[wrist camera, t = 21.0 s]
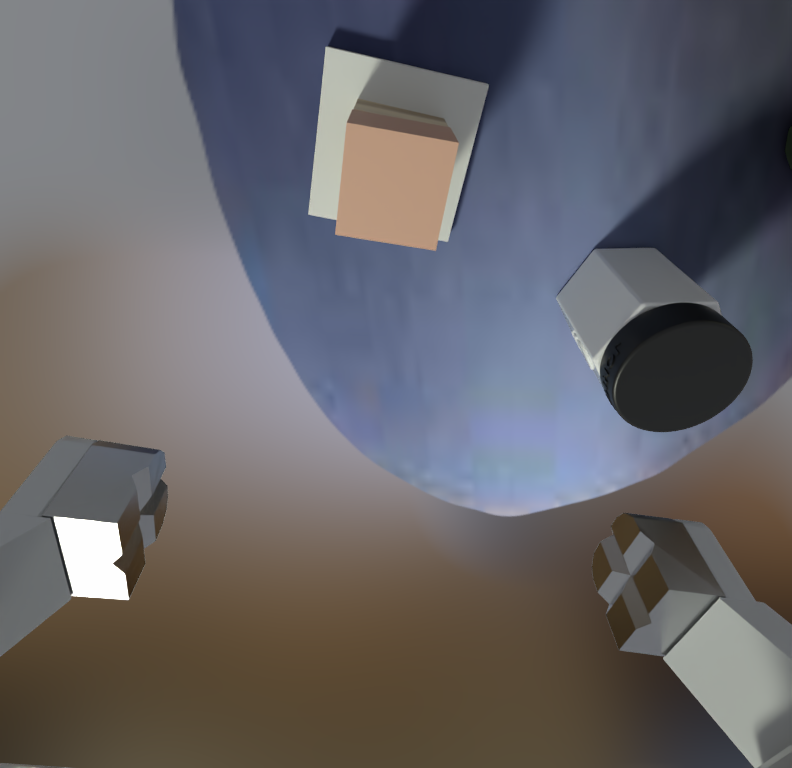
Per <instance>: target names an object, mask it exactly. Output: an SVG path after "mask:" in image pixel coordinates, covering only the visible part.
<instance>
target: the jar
mask: <svg viewBox="0 0 792 768" xmlns="http://www.w3.org/2000/svg"><path fill="white" fill-rule="evenodd" d="M556 299H557V302H558V304H559V306H560V308H561V310H562V312H563V315H564V317H565V319H566V321H567V323H568V325H569V328H570V330H571V332H572V335H573V337H574V339H575V341H576V343H577V345H578V347H579V348H580V350H581V352H582V354H583V356H584V358H585V360H586V362H587V364H588V365H589V367H590V369H592V370H593V371H594V373H595V375H596V377H597V378H598V380H599V382H600V384H601V385H602V387H603V389H604V391H605V393H606V396H607V398H608V400H609V401H610V403H611V405H612V406H613V407H614V409H615V410H616V411H617V412H618V414H619V415H620V416H621V417H622V418H623V419H624V420H625V421H626V422H628V423H629V424H631V425H632V426H635V427H637V428H640V429H643V430H647V431H653V432H672V431H678V430H683V429H687V428H690V427H693V426H696V425H698V424H701V423H703V422H705V421H707V420H709V419H711V418H712V417H714V416H716V415H717V414H719V413H720V412H721V411H723V410H724V409H725V408H726V407H728V406H729V405H730V404H731V403H732V402H733V401H734V400H735V399H736V398H737V396H738V395H739V394H740V393H741V391H742V390H743V388H744V386H745V385H746V383H747V381H748V379H749V376H750V373H751V369H752V361H753V360H752V351H751V348H750V345H749V343H748V341H747V339H746V338H745V337H744V335H743V334H742V333H741V332H740V331H738V330H737V329H736V328H735V327H734V326H733V325H732V324H731V323H729V322H728V321H727V320H726V319H725V318H724V317H723V316H722V314H721V310H720V306H719V303H718V302H717V301H716V300H715V299H714V298H713V297H711V296H710V295H709V294H708V293H707V292H706V291H705V290H703V289H702V288H701V287H700V286H699V285H698V284H696V283H695V282H694V281H693V280H692V279H691V278H689V277H688V276H687V275H686V274H685V273H684V272H682V271H681V270H680V269H679V268H678V267H677V266H675V265H674V264H673V263H672V262H671V261H670V260H668V259H667V258H666V257H665V256H664V255H663V254H662V253H660V252H659V251H658V250H657V249H656V248H612V249H594V250H593V251H592V253H591V254H590V255H589V256H588V258H587V259H586V260H585V261H584V263H583V264H582V265H581V266H580V268H579V269H578V270H577V271H576V273H575V274H574V275H573V276H572V278H571V279H570V280H569V282H568V283H567V284H566V285H565V287H564V288H563V289H562V290H561V292H560V293H559V294H558V295H557V297H556Z"/></svg>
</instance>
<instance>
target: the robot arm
mask: <svg viewBox="0 0 792 768" xmlns="http://www.w3.org/2000/svg"><path fill="white" fill-rule="evenodd" d="M165 468H166V462H165V453H164V452H162V451H161V450H157V449H151V448H144V447H138V446H132V445H125V444H120V443H113V442H107V441H101V440H99V441H97V440H91V439H84V438H77V437H72V436H65V437H63V438H61V439H60V440H58V441H57V442H56V443H55V444H54V445H53V446H52V448H51V449H50V450H49V451H48V453H47V454H46V455H45V456H44V458H43V459H42V460H41V461H40V463H39V464H38V465H37V466H36V468H35V469H34V470H33V471H32V473H31V474H30V475H29V476H28V477H27V479H26V480H25V481H24V483H23V484H22V485H21V486H20V487H19V489H18V490H17V491H16V492H15V494H14V495H13V496H12V497H11V499H10V500H9V501H8V502H7V504H6V505H5V506H4V507H3V509H2V510H1V511H0V656H1V655H3V654H4V653H5V652H6V651H8V650H9V649H10V648H11V647H13V646H14V645H15V644H16V643H18V642H19V641H20V640H21V639H22V638H24V637H25V636H26V635H27V634H28V633H30V632H31V631H32V630H34V629H35V628H36V627H37V626H38V625H40V624H41V623H42V622H43V621H44V620H46V619H47V618H48V617H50V616H51V615H52V614H53V613H54V612H56V611H57V610H58V609H59V608H61V607H62V606H63V605H64V604H66V603H67V602H68V601H69V600H70V599H71V595H72V596H85V597H99V598H111V599H125V600H129V598H130V596H131V594H132V592H133V589H134V587H135V585H136V583H137V581H138V578H139V576H140V574H141V572H142V570H143V567H144V566H145V554H144V548H146V547H147V546H149V545H150V544H152V543H153V542H155V541H156V539H157V537H158V534H159V532H160V530H161V527H162V525H163V521H164V517H165V514H166V510H167V501H168V487H167V485H166V484H165V483H164V482H163V481H162V480H161V479H160V478H161V476H162V474H163V472H164V470H165ZM611 529H612V532H613V535H612V536H610V537H608V538H606V539H604V540H603V541H601V542H600V543H599V545H598V547H597V549H596V550H595V552H594V555H593V562H592V574H593V580H594V583H595V586H596V589H597V592H598V593H599V594H600V595H601V596H602V597H603V598H604V599H605V600H606V601H607V602H608V603H609V607H608V610H607V613H606V617H607V619H608V622H609V625H610V627H611V630H612V633H613V636H614V638H615V641H616V643H617V646H618V649H619V650H621V651H628V652H636V653H644V654H651V655H659V656H665V657H664V658H663V659H664V660H665V662H667V664H668V665H669V666H670V668H671V669H672V670H673V671H674V672H675V673H676V675H677V676H678V677H679V678H680V679H681V681H682V682H683V683H684V684H685V685H686V687H687V688H688V689H689V690H690V691H691V692H692V694H693V695H694V696H695V697H696V699H698V701H699V702H700V703H701V704H702V706H703V707H704V708H705V709H706V710H707V712H708V713H709V714H710V715H711V716H712V718H713V719H714V720H715V721H716V722H717V724H718V725H719V726H720V727H721V728H722V729H723V731H724V732H725V733H726V734H727V735H728V737H729V738H730V739H731V740H732V741H733V743H734V744H735V745H736V746H737V747H738V749H739V750H740V751H741V752H742V753H743V754H744V756H745V757H746V758H747V759H748V761H749V762H750V763H751V764H752V765H753V766H754V768H792V625H791V624H790V623H789V622H787V621H786V620H785V619H783V618H782V617H781V616H780V615H779V614H777V613H776V612H775V611H774V610H772V609H771V608H770V607H769V606H767V605H766V604H765V603H761V602H756V601H755V599H754V598H753V596H752V595H751V593H750V592H749V590H748V588H747V587H746V585H745V584H744V582H743V580H742V579H741V577H740V576H739V574H738V573H737V571H736V569H735V568H734V566H733V565H732V563H731V562H730V560H729V558H728V557H727V555H726V554H725V552H724V551H723V549H722V548H721V546H720V544H719V543H718V541H717V540H716V538H715V536H714V535H713V533H712V532H711V530H710V529H709V528H708V527H707V526H705V525H704V524H703V523H701V522H693V521H684V520H677V519H676V520H673V519H669V518H661V517H653V516H645V515H637V514H629V513H623V514H621V515H619V516H618V517H616V519H615V520H614V522H613V523H612V525H611ZM0 768H67V767H52V766H36V765H21V764H6V763H0Z"/></svg>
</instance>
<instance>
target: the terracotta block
mask: <svg viewBox="0 0 792 768" xmlns="http://www.w3.org/2000/svg"><path fill="white" fill-rule="evenodd" d="M458 145H459V142H458V140H457V138H456V136H455V135H454V133H453V131H452V129H451V128H450V127H446V126H440V125H435V124H429V123H424V122H418V121H413V120H407V119H402V118H396V117H391V116H386V115H380V114H375V113H369V112H364V111H358V110H353V109H352V111H351V114H350V116H349V118H348V120H347V124H346V133H345V143H344V153H343V163H342V173H341V183H340V193H339V203H338V213H337V222H336V232H335V235H341V236H347V237H353V238H360V239H366V240H372V241H378V242H385V243H391V244H397V245H404V246H410V247H416V248H422V249H429V250H435V251H436V247H437V242H438V238H439V233H440V229H441V224H442V219H443V215H444V210H445V205H446V201H447V196H448V192H449V187H450V182H451V178H452V173H453V168H454V164H455V159H456V155H457V150H458Z"/></svg>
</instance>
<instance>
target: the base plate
mask: <svg viewBox="0 0 792 768" xmlns="http://www.w3.org/2000/svg"><path fill="white" fill-rule="evenodd" d="M488 87H489V85H488V84H487V83H483V82H478V81H474V80H470V79H466V78H461V77H457V76H453V75H449V74H444V73H440V72H436V71H432V70H427V69H423V68H419V67H415V66H410V65H406V64H402V63H398V62H393V61H389V60H385V59H381V58H376V57H372V56H368V55H364V54H359V53H355V52H351V51H347V50H342V49H338V48H334V47H330V46H326V51H325V60H324V70H323V79H322V89H321V99H320V108H319V118H318V127H317V137H316V147H315V156H314V166H313V175H312V185H311V194H310V204H309V214H308V215H313V216H318V217H323V218H329V219H334V220H337V213H338V203H339V193H340V183H341V173H342V163H343V153H344V143H345V133H346V124H347V120H348V118H349V116H350V114H351V111H352V109H354V106H355V104H356V102H357V99H363V100H367V101H371V102H376V103H380V104H384V105H388V106H393V107H397V108H401V109H406V110H410V111H414V112H418V113H423V114H427V115H431V116H436V117H440V118H444V119H445V121H446V123H447V125H448V127H450V128H451V129H452V131H453V133H454V135H455V136H456V138H457V140H458V142H459V145H458V150H457V155H456V159H455V164H454V168H453V173H452V178H451V182H450V187H449V192H448V196H447V201H446V205H445V210H444V215H443V219H442V224H441V229H440V233H439V238H438V240H441V241H446V242H448V239H449V235H450V231H451V227H452V224H453V220H454V216H455V212H456V208H457V205H458V201H459V197H460V193H461V189H462V186H463V182H464V178H465V174H466V171H467V167H468V163H469V159H470V155H471V152H472V148H473V144H474V140H475V136H476V133H477V129H478V125H479V121H480V117H481V114H482V110H483V106H484V102H485V98H486V95H487V91H488Z"/></svg>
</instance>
